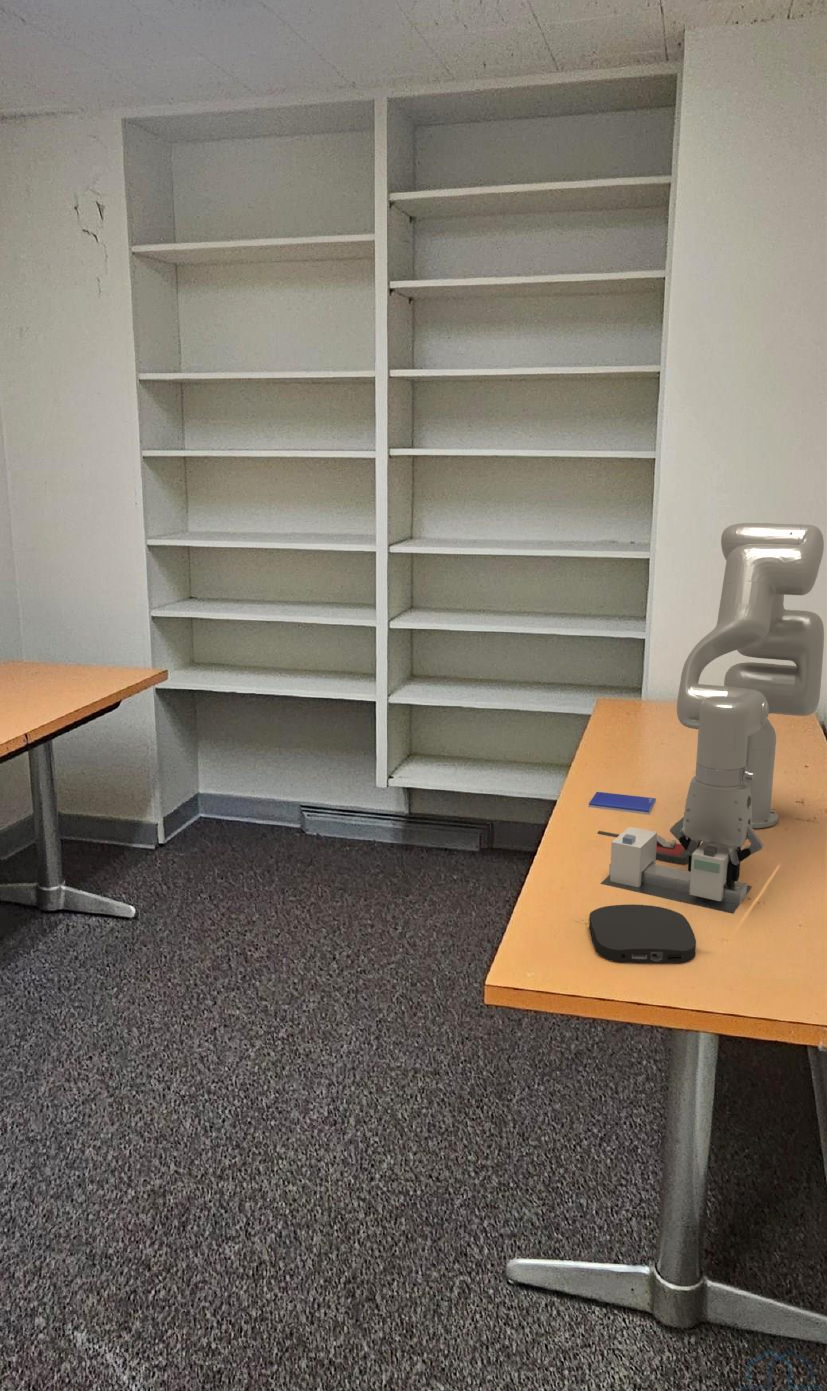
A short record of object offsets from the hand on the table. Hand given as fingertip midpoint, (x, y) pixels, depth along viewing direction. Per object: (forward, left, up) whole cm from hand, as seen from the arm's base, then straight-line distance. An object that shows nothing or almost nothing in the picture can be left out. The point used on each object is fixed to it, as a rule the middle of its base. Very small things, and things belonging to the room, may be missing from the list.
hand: (712, 879), depth 165 cm
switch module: (0, 0, -2) cm, 2 cm away
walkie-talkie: (-13, -16, -4) cm, 21 cm away
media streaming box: (+20, -5, -4) cm, 21 cm away
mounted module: (0, -13, -2) cm, 14 cm away
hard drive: (-36, -29, -4) cm, 46 cm away
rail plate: (0, -6, -3) cm, 7 cm away
